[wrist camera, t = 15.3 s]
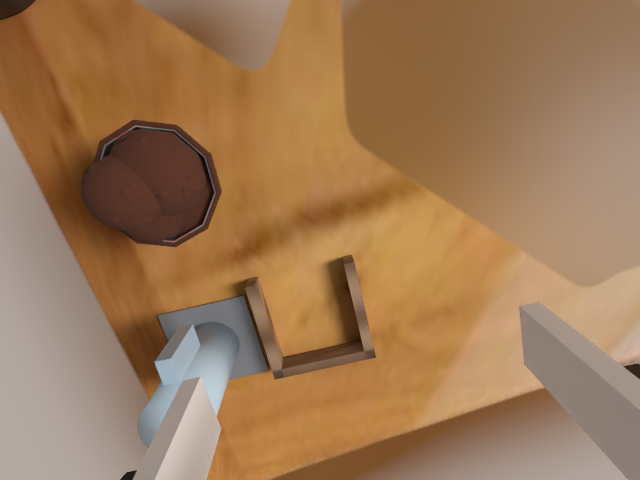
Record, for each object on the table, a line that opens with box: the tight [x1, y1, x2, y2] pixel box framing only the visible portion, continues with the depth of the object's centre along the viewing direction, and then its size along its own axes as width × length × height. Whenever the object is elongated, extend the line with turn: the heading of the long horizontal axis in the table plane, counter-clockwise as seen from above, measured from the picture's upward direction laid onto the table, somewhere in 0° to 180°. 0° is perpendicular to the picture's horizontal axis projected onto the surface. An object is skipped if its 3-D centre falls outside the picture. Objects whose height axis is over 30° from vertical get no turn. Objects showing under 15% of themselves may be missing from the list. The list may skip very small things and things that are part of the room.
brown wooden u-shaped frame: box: [245, 255, 376, 379], centre depth 45 cm, size 13×13×2 cm
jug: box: [138, 322, 240, 448], centre depth 40 cm, size 6×9×14 cm
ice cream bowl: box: [81, 120, 222, 247], centre depth 34 cm, size 11×11×15 cm
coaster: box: [158, 295, 269, 379], centre depth 47 cm, size 11×11×1 cm
